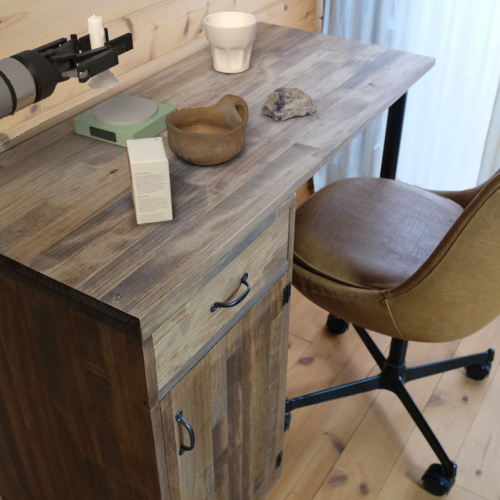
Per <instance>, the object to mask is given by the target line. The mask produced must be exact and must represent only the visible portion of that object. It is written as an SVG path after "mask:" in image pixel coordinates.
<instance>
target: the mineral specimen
mask: <svg viewBox="0 0 500 500" xmlns="http://www.w3.org/2000/svg"><path fill="white" fill-rule="evenodd" d="M316 110H317V106H316V104H315V102H314V100H313V99H312V96H310V94H308V93H306V92H304V91H303V90H301V89H298V88H297V87H293V88H289V87H284V86H283V87H278V88H276V89H274V90H273V91H272V92H271V93H269V94H268V97H267V99H266V101H264V102H263V104H262V105H261V114H264V115H266V116H269V117H272V119H273V120H274V121H275V122H277V121H279V120H280V121H281V122H283V121H286V120H288V119H292V118H293V117H298V116H299V117H303V116H306V115H307V114H308V115H312V114H314V113H315V112H316Z"/></svg>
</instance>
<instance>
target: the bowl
mask: <svg viewBox="0 0 500 500" xmlns="http://www.w3.org/2000/svg"><path fill="white" fill-rule="evenodd" d="M248 122H249V106H248V103H247V102H246V100H245V99H244V98H243V97H241V96H239V95H236V94H230V93H229V94H225V95H223V96H222V97H220V98H219V100H218V101H217V102H216V103H215V104H213V105H210V106H206V107H205V106H199V107H188V108H181V109H177V111H175V112H172V113H170V114H168V115H167V116H166V119H165V123H166V127H167V129H166V130H167V131H166V132H167V144H168V147H169V150H170V151H171V152H173V154H175V155H176V156H177V158H180V159H181V160H183V161H185V162H188V163H191V164H193V165H198V166H212V165H213V166H214V165H219V164H222V163H225V162H228V161H230V160H232V159H233V158H235V157H236V156H237V155H239V153H240V152H241V151H242V150H243V149H244V145H245V141H246V139H245V137H246V135H245V132H244V131H245V129H246V127H247V124H248Z"/></svg>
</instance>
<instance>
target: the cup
mask: <svg viewBox="0 0 500 500" xmlns="http://www.w3.org/2000/svg"><path fill="white" fill-rule="evenodd" d="M202 19H203V21H202V22H203V26H204V33H205V38H206V40H207V42H208V43H209V47H210V51H211V52H210V53H211V57H212V62H213V69H214V70H215V71H217V72H219V73H223V74H239V73H244V72H245V71H248V69H249V68H250V62H251V56H252V50H253V45H254V42H255V41H256V39H257V30H258V23H259V19H258V17H257V16H256V15H254V14H252V13H248V12H244V11H235V10H233V11H232V10H231V11H220V12H213V13H210V14H208V15H206V16H205V17H203V18H202Z"/></svg>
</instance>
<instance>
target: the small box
mask: <svg viewBox="0 0 500 500" xmlns="http://www.w3.org/2000/svg"><path fill="white" fill-rule="evenodd" d="M125 148H126V157H127V165H128V166H127V167H128V174H129V179H130V180H129V182H130V190H131V197H132V202H133V207H134V213H135V214H134V215H135V219H136V224H137V225H145V224H151V223H161V222H168V221H173V219H174V218H173V206H172V205H173V204H172V191H171V179H170V178H171V177H170V163H169V159H168V157H167V153H166V150H165V145H164V140H163V137H162V136H154V137H153V138H144V139H133V140H126V147H125Z"/></svg>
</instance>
